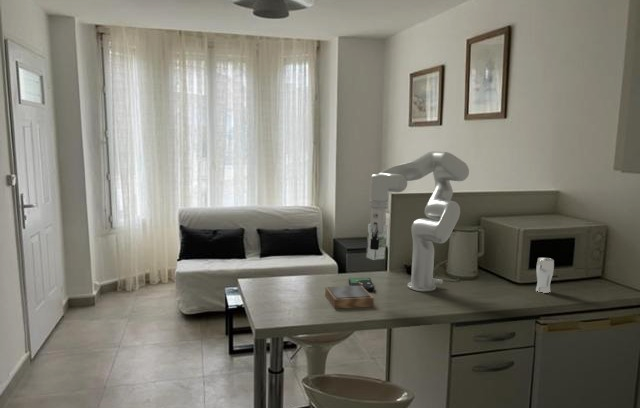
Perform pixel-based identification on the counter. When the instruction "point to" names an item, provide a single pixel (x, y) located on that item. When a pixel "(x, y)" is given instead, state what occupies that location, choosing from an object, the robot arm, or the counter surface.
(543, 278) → the beer glass
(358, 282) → the disk drive
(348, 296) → the stand
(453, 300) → the counter surface
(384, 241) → the syrup box
